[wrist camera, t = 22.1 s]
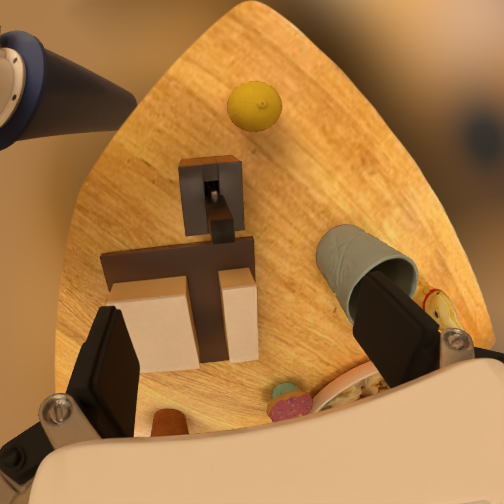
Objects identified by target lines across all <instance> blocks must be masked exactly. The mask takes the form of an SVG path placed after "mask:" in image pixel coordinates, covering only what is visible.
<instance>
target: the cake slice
mask: <svg viewBox="0 0 504 504" xmlns="http://www.w3.org/2000/svg"><path fill="white" fill-rule="evenodd" d="M218 274H219V284H220V293H221V303H222V312H223V321H224V330H225V338H226V345H227V350H228V355H229V360H230V364H233V363H240V362H246V361H253V360H259V351H258V318H257V287H256V284H255V282H254V279H253V277H252V274H251V272H250V269H249V268H240V269H231V270H223V271H218Z"/></svg>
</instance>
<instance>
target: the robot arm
mask: <svg viewBox="0 0 504 504" xmlns="http://www.w3.org/2000/svg"><path fill="white" fill-rule="evenodd" d="M0 32H1V26H0ZM25 82H26V67H25V62H24V60H23V58H22V56H21V55H20V54H19V52H17V51H15V50H14V49H10V48H1V49H0V128H2V127H3V126H4V125H5V124H6V123H7V122H8V121H9V120H10V118H11V117H12V116H13V114H14V112H15V111H16V109H17V107H18V105H19V103H20V101H21V98H22V95H23V92H24V87H25ZM439 327H440V325H439V324H438V323H437V322H436V321H435V320H434V319H433V318H432V317H431V316H430V315H428V314H427V313H426V312H425V311H424V310H423V309H422V308H421V307H420V306H419V305H418V304H417V303H416V302H414V301H413V300H412V299H411V298H410V297H409V296H408V295H407V294H406V293H405V292H403V291H402V290H401V289H400V288H399V287H398V286H397V285H396V284H395V283H393V282H392V281H391V280H390V279H389V278H388V277H387V276H385V275H384V274H383V273H382V272H381V271H375V272H369V273H366V275H365V277H363V278H362V280H361V286H360V293H359V299H358V304H357V310H356V315H355V320H354V325H353V335H354V337H355V339H356V340H357V342H358V343H359V344H360V346H361V347H362V349H363V350H364V351H365V353H366V354H367V356H368V357H369V359H370V360H371V361H372V363H373V364H374V366H375V367H376V369H377V370H378V371H379V373H380V374H381V376H382V377H383V379H384V380H385V381H386V383H387V384H388V386H389V387H390V389H389V390H386V391H383V392H380V393H378V394H375V395H372V396H369V397H366V398H363V399H360V400H357V401H354V402H351V403H348V404H344V405H341V406H338V407H334V408H331V409H327V410H324V411H320V412H316V413H312V414H308V415H304V416H300V417H296V418H292V419H287V420H282V421H278V422H273V423H268V424H262V425H257V426H251V427H245V428H239V429H232V430H225V431H217V432H209V433H199V434H188V435H175V436H159V437H134V425H135V413H136V402H137V393H138V384H139V375H140V363H139V360H138V357H137V355H136V352H135V349H134V347H133V344H132V341H131V338H130V335H129V332H128V330H127V327H126V324H125V321H124V317H123V314H122V311H121V310H120V309H117V308H116V307H115V306H114V305H113V306H101V307H100V308H99V310H98V312H97V314H96V317H95V319H94V322H93V324H92V327H91V330H90V332H89V335H88V337H87V340H86V342H84V343H83V345H82V347H81V350H80V352H79V355H78V358H77V361H76V363H75V366H74V369H73V372H72V375H71V378H70V381H69V384H68V387H67V391H66V394H65V393H56V394H53V395H51V396H49V397H47V398H46V399H45V400H44V401H43V402H42V404H41V405H40V408H39V412H38V416H39V420H40V421H39V422H38V423H36V424H35V425H33V426H32V427H30V428H29V429H27V430H26V431H24V432H23V433H21V434H20V435H18V436H17V437H15V438H14V439H12V440H10V441H9V442H7V443H6V444H5V445H4V446H2V448H1V449H0V504H504V354H503V353H499V352H494V351H490V350H486V349H482V348H477V347H474V345H473V341H472V338H471V337H470V335H469V334H467V333H466V332H465V331H463V330H461V329H458V328H446V329H444V330H443V331H442V332H441V333H440V332H439V331H438V329H439Z"/></svg>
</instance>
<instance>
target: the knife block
mask: <svg viewBox="0 0 504 504" xmlns="http://www.w3.org/2000/svg"><path fill="white" fill-rule="evenodd" d="M178 170H179V181H180V191H181V201H182V210H183V219H184V227H185V235H186V236H194V235H203V234H208V233H209V234H210V228H209V223H208V217H207V206H206V201H205V190H204V182H207V181H215V188H216V190H217V196H221V195H223V196H224V198H225V200H226V202H227V205H228V207H229V209H230V211H231V213H232V216H233V218H234V230H235V231H239V230H245V224H244V204H243V182H242V162H241V161H240V160H238V159H237V158H235V157H234V156H233V155H226V156H214V157H202V158H192V159H183V160H181V162H180V164H179V167H178Z"/></svg>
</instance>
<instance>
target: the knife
mask: <svg viewBox="0 0 504 504" xmlns="http://www.w3.org/2000/svg"><path fill="white" fill-rule="evenodd" d="M207 183H208V195H209V197H206V206H207V217H208V223H209V228H210V234H211V240H212V245H217V244H226V243H235V230H234V218H233V216H232V213H231V211H230V209H229V207H228V205H227V202H226V200H225V198H224V196H223V195H221V196H217V190H216V188H215V185H214V182H213V181H207Z"/></svg>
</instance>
